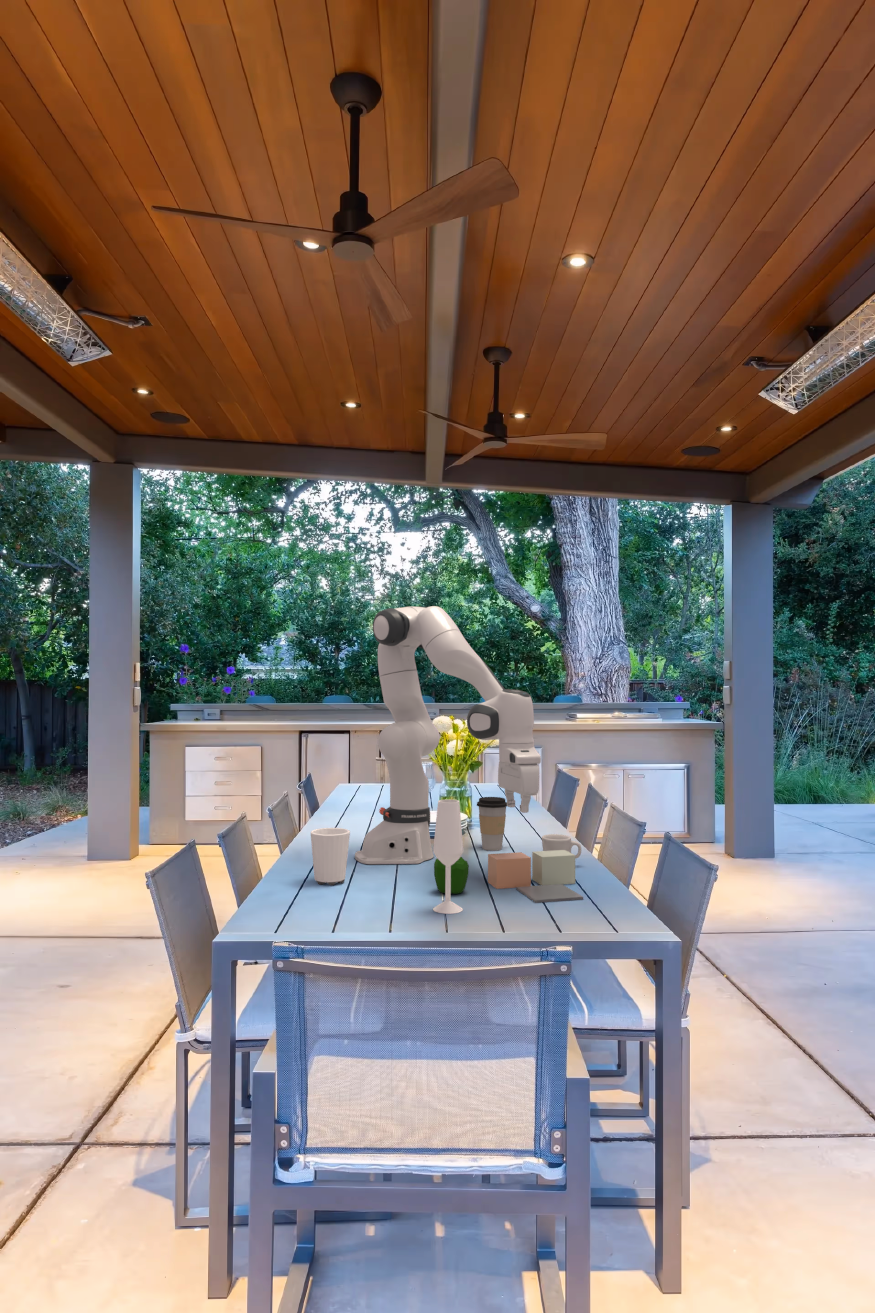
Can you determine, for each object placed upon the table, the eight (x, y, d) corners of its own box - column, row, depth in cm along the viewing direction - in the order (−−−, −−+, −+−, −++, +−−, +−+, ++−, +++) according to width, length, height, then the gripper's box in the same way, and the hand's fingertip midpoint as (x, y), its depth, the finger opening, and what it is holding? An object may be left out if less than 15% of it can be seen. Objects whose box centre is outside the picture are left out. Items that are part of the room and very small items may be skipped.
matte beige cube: (542, 885, 202) (542, 857, 202) (532, 879, 208) (532, 851, 208) (575, 883, 205) (575, 855, 205) (564, 877, 211) (564, 850, 211)
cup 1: (301, 882, 204) (302, 831, 204) (332, 875, 211) (332, 826, 211) (327, 889, 197) (327, 836, 197) (357, 882, 204) (358, 831, 205)
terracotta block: (496, 888, 199) (496, 859, 199) (487, 882, 205) (488, 854, 205) (530, 886, 201) (530, 857, 201) (521, 880, 207) (521, 852, 208)
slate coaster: (535, 902, 187) (535, 900, 187) (516, 889, 198) (516, 887, 198) (583, 899, 190) (583, 896, 190) (561, 886, 202) (561, 884, 202)
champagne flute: (433, 904, 185) (434, 798, 185) (462, 905, 184) (463, 799, 185) (432, 913, 178) (433, 803, 178) (462, 914, 178) (463, 803, 178)
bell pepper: (472, 889, 199) (472, 847, 199) (464, 897, 191) (464, 854, 191) (439, 886, 201) (439, 845, 201) (429, 894, 193) (430, 852, 193)
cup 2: (580, 863, 227) (580, 834, 227) (582, 870, 219) (582, 840, 219) (541, 862, 228) (541, 833, 228) (542, 869, 220) (542, 839, 220)
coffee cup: (508, 852, 241) (508, 801, 241) (476, 851, 241) (477, 801, 241) (506, 845, 250) (506, 796, 250) (475, 845, 250) (476, 796, 250)
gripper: (491, 751, 213) (492, 804, 213) (518, 757, 193) (519, 816, 193) (514, 751, 215) (515, 803, 214) (543, 756, 195) (544, 815, 194)
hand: (517, 809), depth 203 cm, fingers open, 8 cm apart
